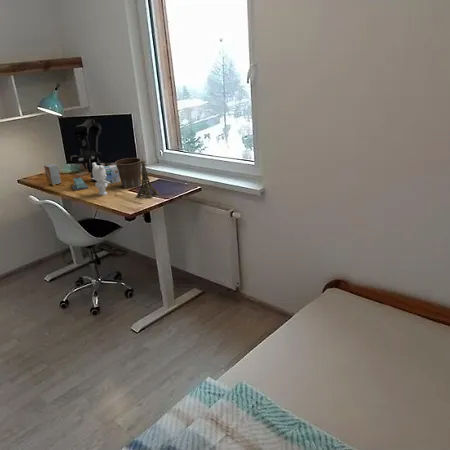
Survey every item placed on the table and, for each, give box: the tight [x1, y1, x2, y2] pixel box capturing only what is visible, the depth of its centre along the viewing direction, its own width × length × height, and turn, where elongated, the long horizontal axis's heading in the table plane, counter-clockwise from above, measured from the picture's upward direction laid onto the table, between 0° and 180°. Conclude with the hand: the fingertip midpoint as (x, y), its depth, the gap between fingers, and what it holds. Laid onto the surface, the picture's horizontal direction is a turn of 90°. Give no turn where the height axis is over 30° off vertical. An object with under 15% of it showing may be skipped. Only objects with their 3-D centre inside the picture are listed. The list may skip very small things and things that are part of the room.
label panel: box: [71, 182, 90, 192], centre depth 299 cm, size 9×11×1 cm
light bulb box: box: [104, 164, 121, 186], centre depth 304 cm, size 11×7×11 cm, turn 129°
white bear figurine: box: [90, 162, 111, 196], centre depth 278 cm, size 8×20×19 cm, turn 47°
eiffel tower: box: [134, 156, 160, 199], centre depth 270 cm, size 11×11×25 cm
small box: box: [43, 163, 62, 186], centre depth 309 cm, size 8×6×13 cm
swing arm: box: [73, 176, 86, 189], centre depth 300 cm, size 5×17×3 cm, turn 24°
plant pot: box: [114, 157, 142, 189], centre depth 293 cm, size 16×16×16 cm
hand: (88, 169), depth 297 cm, fingers open, 3 cm apart
